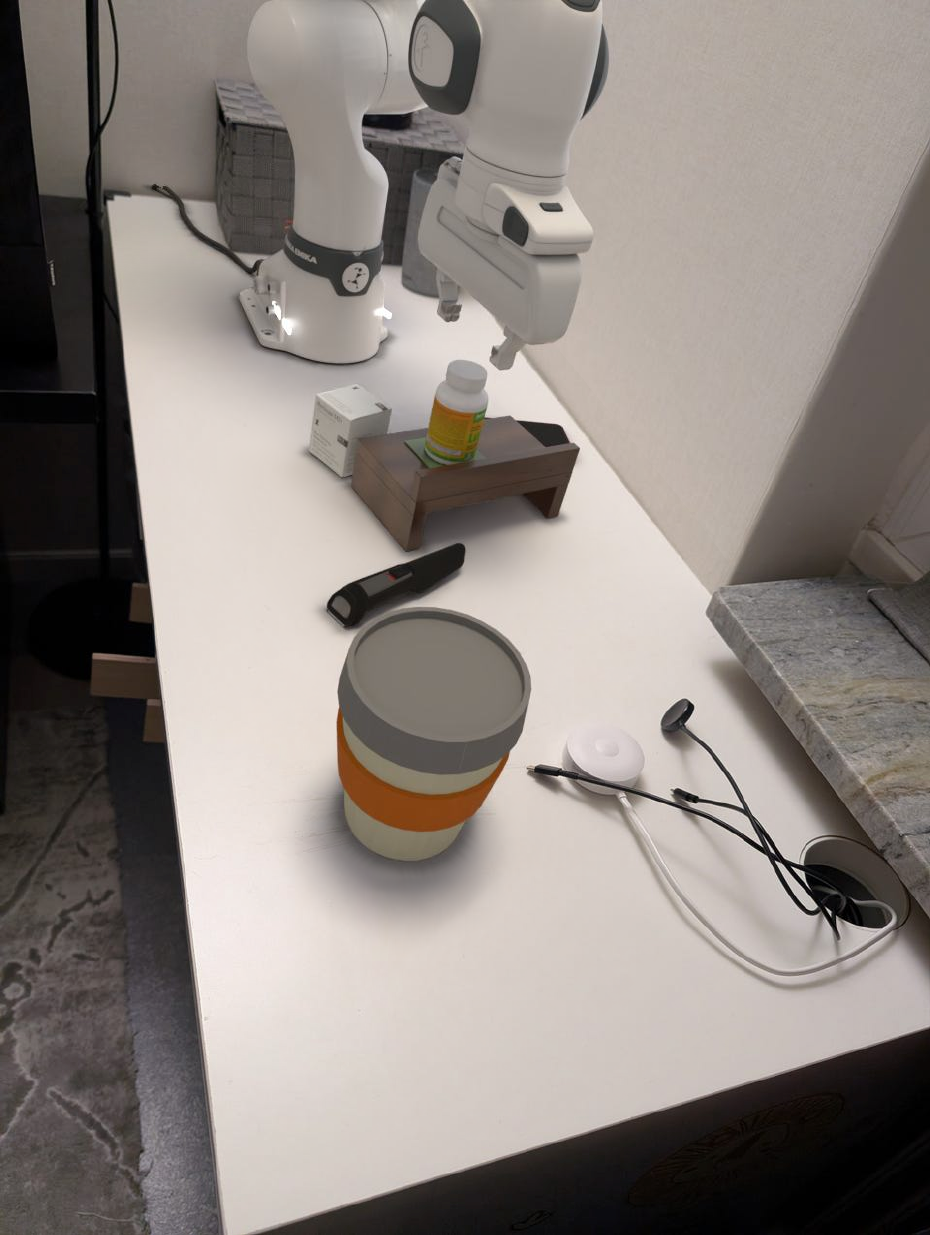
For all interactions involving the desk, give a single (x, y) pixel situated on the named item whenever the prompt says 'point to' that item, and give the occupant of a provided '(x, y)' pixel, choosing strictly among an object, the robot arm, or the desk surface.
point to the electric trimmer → (394, 584)
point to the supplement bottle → (457, 414)
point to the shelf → (457, 475)
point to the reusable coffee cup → (425, 726)
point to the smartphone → (545, 432)
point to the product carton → (345, 425)
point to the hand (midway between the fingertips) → (472, 341)
